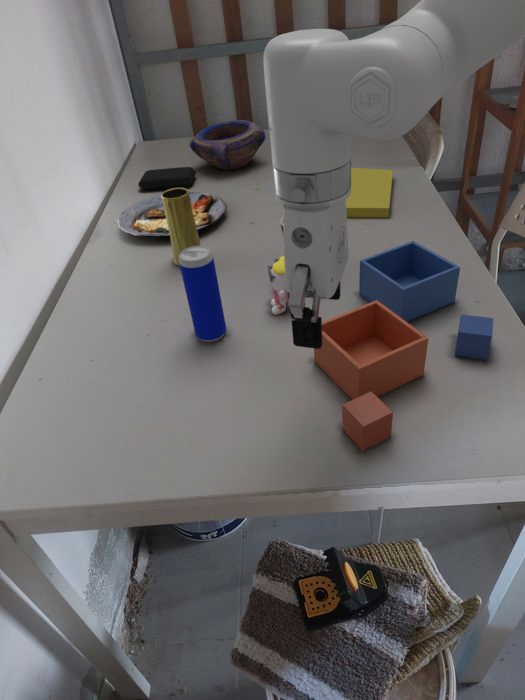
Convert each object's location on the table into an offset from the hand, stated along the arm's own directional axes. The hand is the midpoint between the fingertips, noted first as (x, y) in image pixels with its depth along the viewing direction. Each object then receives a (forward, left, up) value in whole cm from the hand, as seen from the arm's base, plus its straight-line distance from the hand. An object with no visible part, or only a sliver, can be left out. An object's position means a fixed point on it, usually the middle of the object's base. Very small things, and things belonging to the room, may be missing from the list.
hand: (318, 320), depth 61 cm
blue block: (-2, -25, -14) cm, 29 cm away
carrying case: (+94, -11, -15) cm, 96 cm away
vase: (+50, 0, -15) cm, 52 cm away
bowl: (+95, -30, -15) cm, 101 cm away
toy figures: (+26, -9, -15) cm, 31 cm away
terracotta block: (-7, -2, -14) cm, 16 cm away
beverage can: (+24, +6, -15) cm, 29 cm away
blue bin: (+14, -26, -14) cm, 33 cm away
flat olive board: (+53, -46, -15) cm, 72 cm away
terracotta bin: (+3, -10, -14) cm, 18 cm away
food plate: (+70, -4, -15) cm, 72 cm away
